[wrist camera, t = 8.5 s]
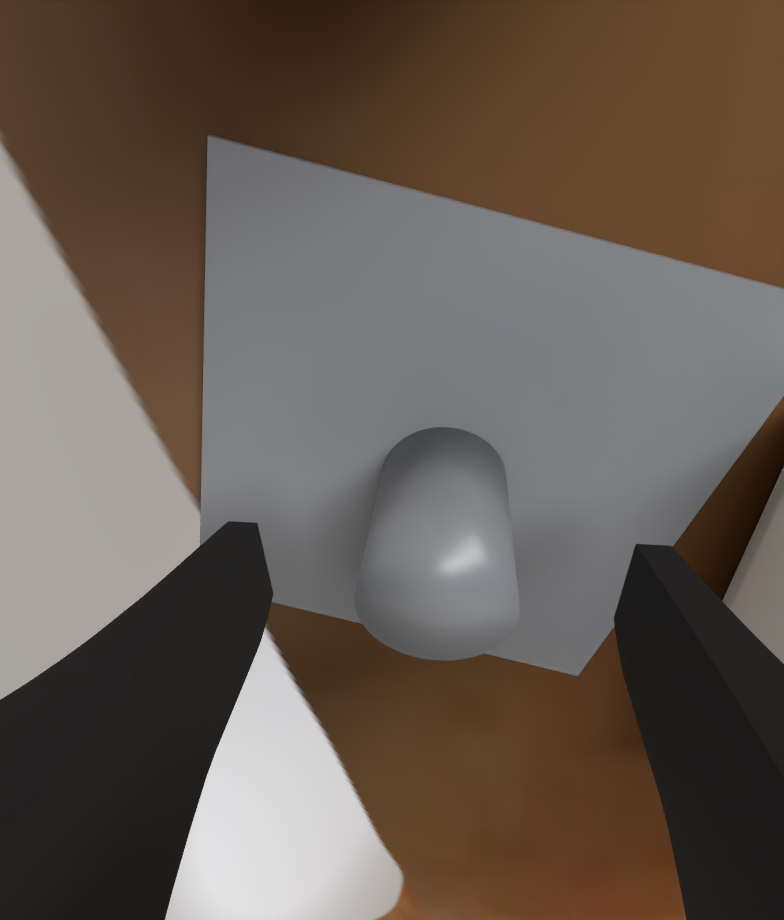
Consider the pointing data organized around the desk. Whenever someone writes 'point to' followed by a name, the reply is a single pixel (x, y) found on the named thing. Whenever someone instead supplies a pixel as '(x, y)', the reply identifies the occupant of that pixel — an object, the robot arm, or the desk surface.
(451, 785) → the desk surface
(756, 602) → the white open box
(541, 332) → the gray lid
